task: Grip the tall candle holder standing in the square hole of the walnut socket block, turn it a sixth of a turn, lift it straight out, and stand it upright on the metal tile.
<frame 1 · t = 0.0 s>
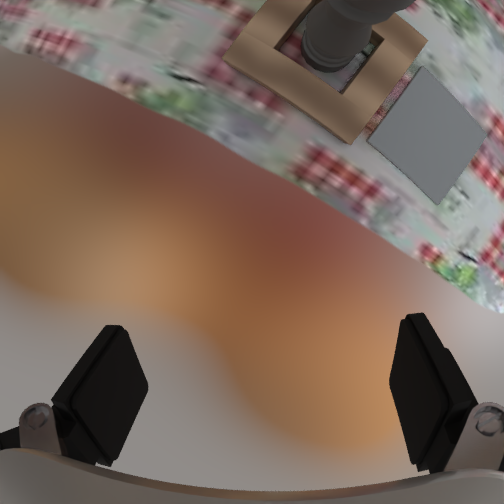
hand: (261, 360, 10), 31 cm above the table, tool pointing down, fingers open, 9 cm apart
metal tile: (431, 135, 34), on the table
candle holder: (326, 49, 32), resting in socket block
socket block: (326, 49, 32), on the table
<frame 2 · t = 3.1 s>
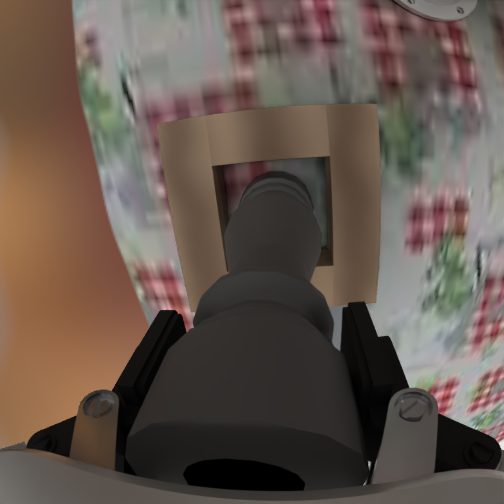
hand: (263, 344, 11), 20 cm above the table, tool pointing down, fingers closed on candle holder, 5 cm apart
metal tile: (287, 352, 35), on the table
candle holder: (276, 204, 29), resting in socket block, touching gripper
socket block: (276, 204, 29), on the table
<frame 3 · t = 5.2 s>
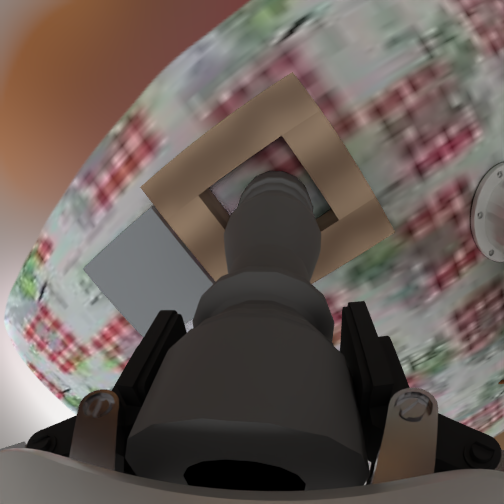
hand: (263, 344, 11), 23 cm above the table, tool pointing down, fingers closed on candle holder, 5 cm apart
metal tile: (150, 280, 37), on the table
candle holder: (276, 203, 29), point 3 cm above the table, touching gripper
socket block: (270, 197, 32), on the table
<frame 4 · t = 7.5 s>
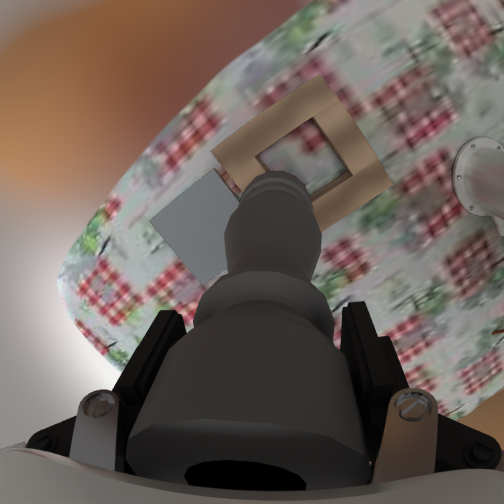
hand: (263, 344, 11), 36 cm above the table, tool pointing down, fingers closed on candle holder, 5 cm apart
metal tile: (207, 228, 48), on the table
candle holder: (276, 203, 29), point 16 cm above the table, touching gripper
socket block: (303, 161, 42), on the table
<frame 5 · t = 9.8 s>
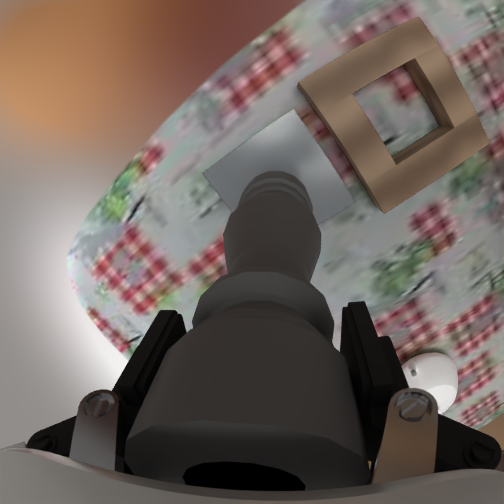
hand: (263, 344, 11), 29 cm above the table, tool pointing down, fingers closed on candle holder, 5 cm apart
metal tile: (279, 184, 37), on the table
candle holder: (275, 203, 29), point 9 cm above the table, touching gripper
teapot: (418, 370, 47), on the table
socket block: (395, 110, 32), on the table
when the fingers open (21 cm above the table, at t = 12.0 s): candle holder drops 1 cm, resting on metal tile.
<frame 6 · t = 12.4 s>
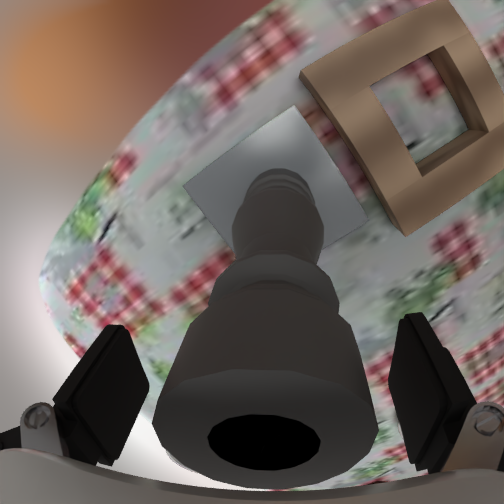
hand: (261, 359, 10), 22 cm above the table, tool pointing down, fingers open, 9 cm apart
metal tile: (277, 199, 31), on the table
disposable coffee cup: (219, 387, 41), on the table
candle holder: (279, 199, 30), point 1 cm above the table, touching metal tile
socket block: (418, 109, 26), on the table
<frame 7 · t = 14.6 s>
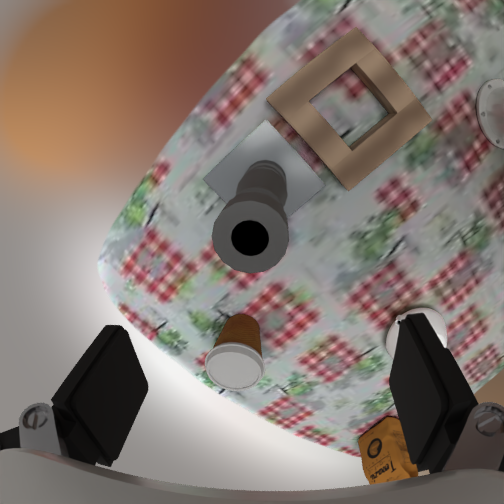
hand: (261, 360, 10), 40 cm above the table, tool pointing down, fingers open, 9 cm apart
metal tile: (264, 180, 47), on the table
disposable coffee cup: (242, 327, 58), on the table
candle holder: (265, 180, 47), point 1 cm above the table, touching metal tile
coffee package: (381, 428, 68), on the table
teapot: (410, 326, 55), on the table
socket block: (348, 107, 42), on the table
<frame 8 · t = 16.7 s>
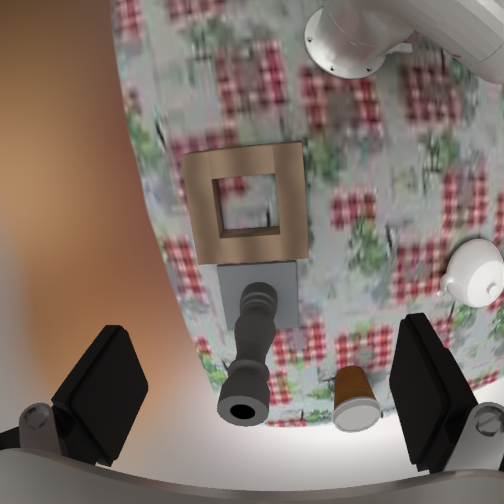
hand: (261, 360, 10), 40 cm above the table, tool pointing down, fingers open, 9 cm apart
metal tile: (259, 296, 56), on the table
disposable coffee cup: (349, 375, 62), on the table
candle holder: (259, 297, 55), point 1 cm above the table, touching metal tile
teapot: (465, 265, 50), on the table
socket block: (249, 200, 49), on the table
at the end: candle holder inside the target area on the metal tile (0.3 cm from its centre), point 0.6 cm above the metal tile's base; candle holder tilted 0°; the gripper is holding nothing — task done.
